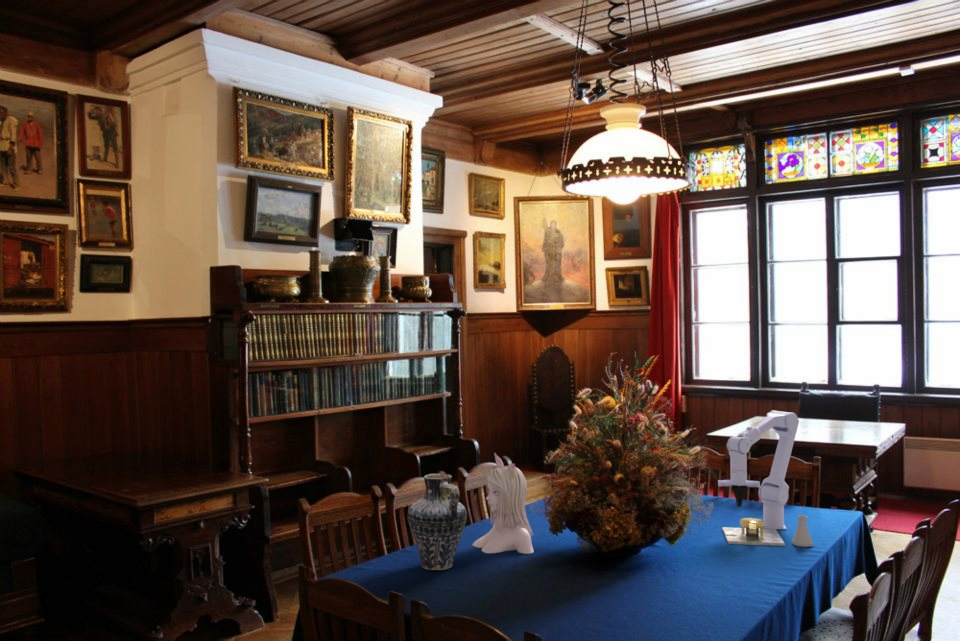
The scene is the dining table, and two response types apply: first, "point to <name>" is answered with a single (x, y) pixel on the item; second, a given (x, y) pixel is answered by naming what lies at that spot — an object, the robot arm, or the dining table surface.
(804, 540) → the flask
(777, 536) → the base plate
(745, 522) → the gold bar with disc
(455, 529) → the jug
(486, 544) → the figurine bust
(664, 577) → the dining table surface
